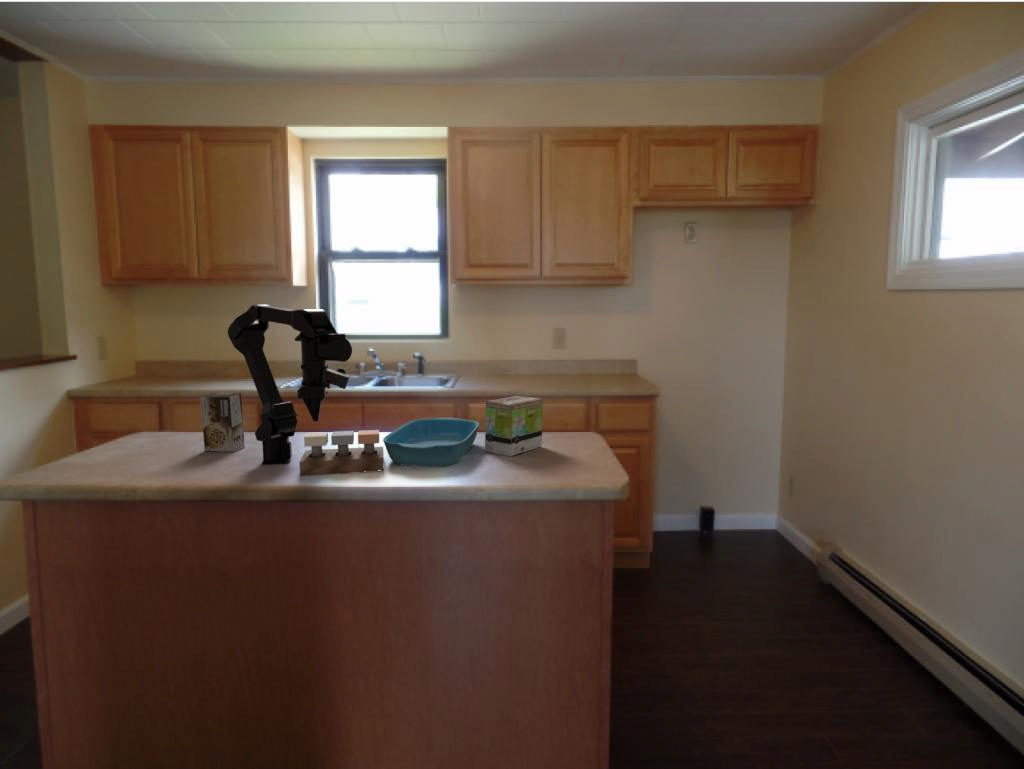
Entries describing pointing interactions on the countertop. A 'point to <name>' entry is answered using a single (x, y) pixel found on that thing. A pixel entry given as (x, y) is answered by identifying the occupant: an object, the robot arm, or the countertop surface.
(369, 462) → the key block
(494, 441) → the tea box
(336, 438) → the slate key
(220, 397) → the coffee box
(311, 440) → the cream key
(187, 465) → the countertop surface
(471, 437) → the casserole dish
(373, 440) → the terracotta key
